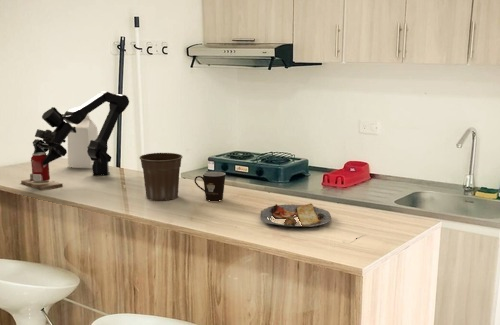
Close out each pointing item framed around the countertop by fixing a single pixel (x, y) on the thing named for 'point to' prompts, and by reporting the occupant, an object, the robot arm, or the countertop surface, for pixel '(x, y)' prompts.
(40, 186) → the carrier board
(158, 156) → the plant pot
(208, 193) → the coffee mug
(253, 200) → the countertop surface
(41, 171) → the soda can
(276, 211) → the food plate
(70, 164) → the milk
